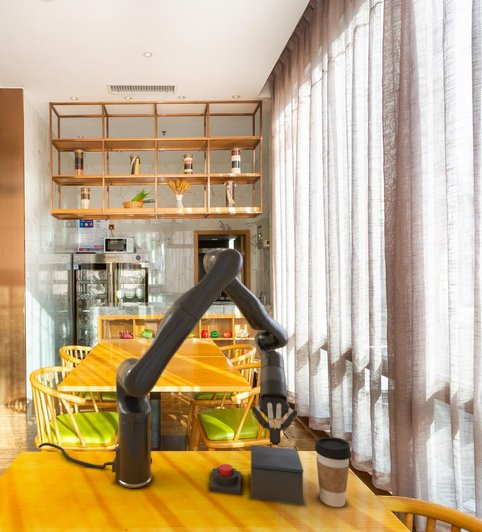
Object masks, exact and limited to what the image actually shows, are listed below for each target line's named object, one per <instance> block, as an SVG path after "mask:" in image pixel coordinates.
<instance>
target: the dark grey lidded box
mask: <svg viewBox="0 0 482 532" xmlns="http://www.w3.org/2000/svg"><path fill="white" fill-rule="evenodd" d="M303 488H304V472H303V473H298V472H289V471H280V470H271V469H262V468H254V467H251V466H250V498H251V499H256V500H264V501H271V502H279V503H285V504H287V503H288V504H295V505H300V506H301V505H303V504H304V503H303V502H304V501H303V499H304V498H303V496H304V495H303V494H304V493H303V492H304V491H303V490H304V489H303Z"/></svg>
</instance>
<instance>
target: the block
mask: <svg viewBox="0 0 482 532" xmlns="http://www.w3.org/2000/svg"><path fill="white" fill-rule="evenodd" d="M219 467H220V466H217V467H216V468H215V467H213V468H212V471H211V477H210V482H209V492H214V493H222V494H223V493H224V494H231V495H238V496H241V490H242V489H241V487H242V471H241V470H236V469H235V468H234V467H233V474H232V476H223V475H220V473H219Z"/></svg>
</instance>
